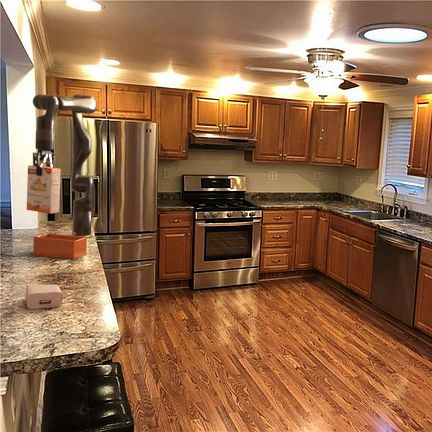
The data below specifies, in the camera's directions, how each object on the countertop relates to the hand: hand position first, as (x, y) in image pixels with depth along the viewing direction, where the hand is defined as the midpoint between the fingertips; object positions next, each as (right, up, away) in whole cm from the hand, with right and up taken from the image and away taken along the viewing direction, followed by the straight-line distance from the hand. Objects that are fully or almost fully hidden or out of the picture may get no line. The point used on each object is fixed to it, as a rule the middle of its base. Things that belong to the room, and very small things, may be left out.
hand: (43, 175), depth 213 cm
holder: (+10, -36, -6) cm, 38 cm away
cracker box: (-2, -17, +2) cm, 17 cm away
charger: (+35, -45, -67) cm, 89 cm away
